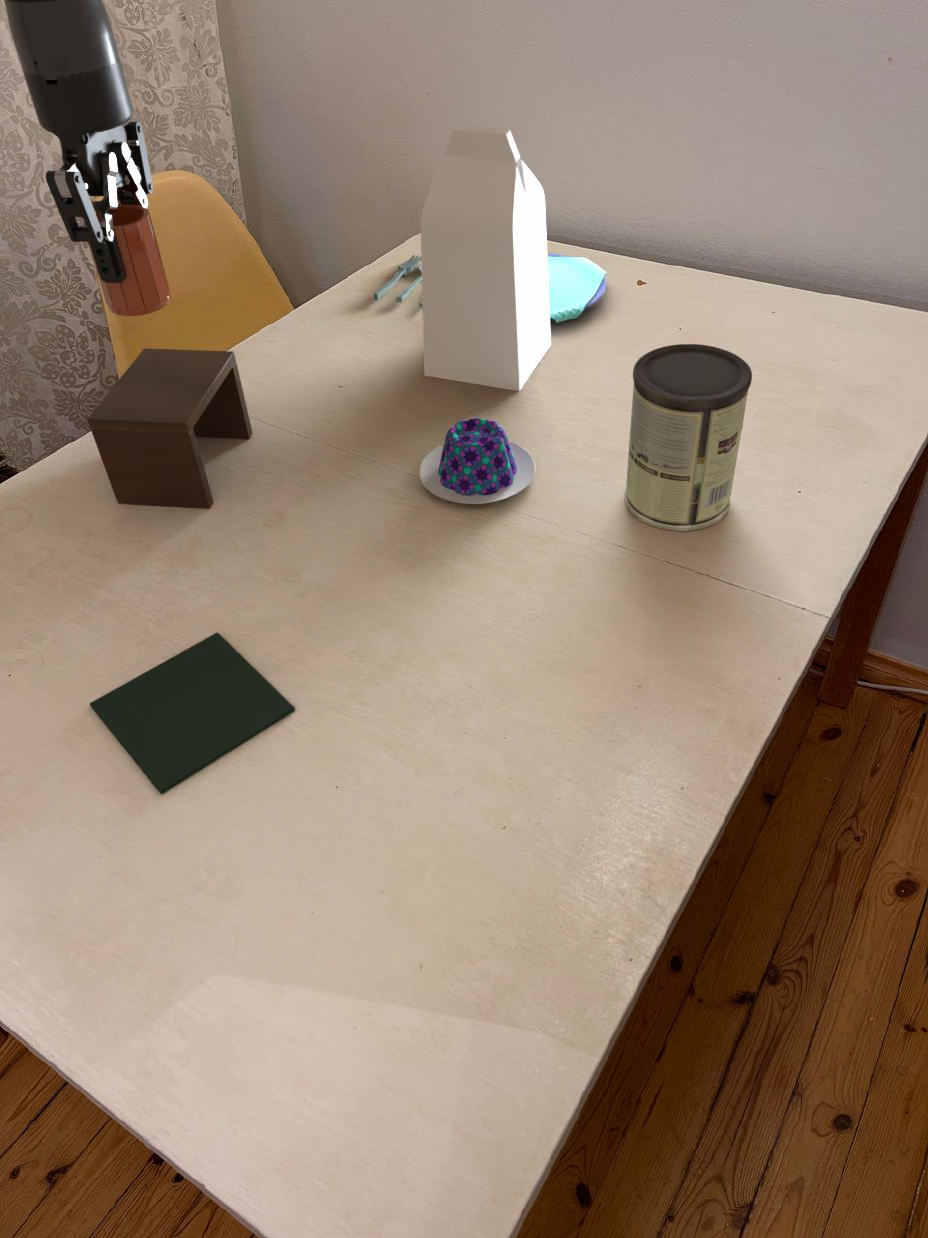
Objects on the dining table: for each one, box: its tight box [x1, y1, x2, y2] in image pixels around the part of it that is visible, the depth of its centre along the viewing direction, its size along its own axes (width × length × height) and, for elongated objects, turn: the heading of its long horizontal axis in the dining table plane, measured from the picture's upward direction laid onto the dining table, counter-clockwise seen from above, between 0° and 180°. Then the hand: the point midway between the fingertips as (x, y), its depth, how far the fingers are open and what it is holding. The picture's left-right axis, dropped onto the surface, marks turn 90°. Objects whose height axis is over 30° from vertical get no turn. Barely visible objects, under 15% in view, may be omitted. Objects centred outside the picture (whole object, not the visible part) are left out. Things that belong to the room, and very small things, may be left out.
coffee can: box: [624, 343, 753, 532], centre depth 90 cm, size 10×10×14 cm
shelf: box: [86, 347, 254, 510], centre depth 100 cm, size 14×10×10 cm
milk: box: [420, 125, 552, 392], centre depth 108 cm, size 12×12×26 cm
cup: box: [87, 204, 172, 317], centre depth 88 cm, size 6×6×8 cm
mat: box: [89, 631, 296, 795], centre depth 78 cm, size 12×12×1 cm
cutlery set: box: [372, 252, 608, 323], centre depth 129 cm, size 20×30×2 cm, turn 69°
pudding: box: [418, 417, 537, 505], centre depth 98 cm, size 12×12×5 cm
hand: (129, 264), depth 88 cm, fingers closed on cup, 6 cm apart
